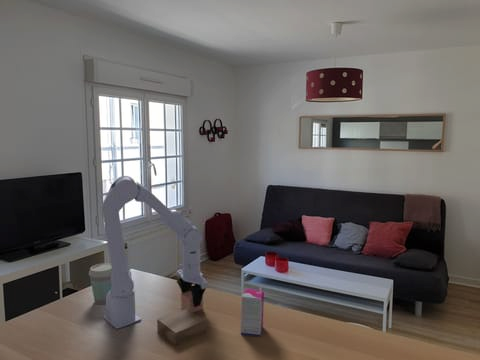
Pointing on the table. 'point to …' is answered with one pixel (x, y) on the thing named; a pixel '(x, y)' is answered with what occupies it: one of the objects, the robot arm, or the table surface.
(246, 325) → the supplement box
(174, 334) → the walnut block
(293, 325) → the table surface
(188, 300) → the terracotta cube
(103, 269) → the coffee cup
